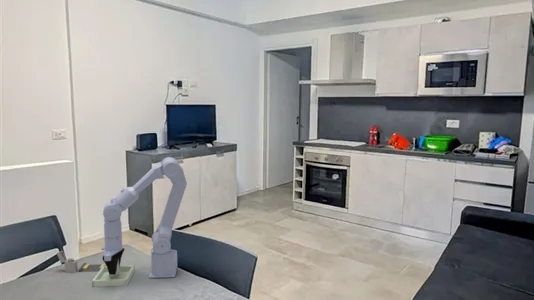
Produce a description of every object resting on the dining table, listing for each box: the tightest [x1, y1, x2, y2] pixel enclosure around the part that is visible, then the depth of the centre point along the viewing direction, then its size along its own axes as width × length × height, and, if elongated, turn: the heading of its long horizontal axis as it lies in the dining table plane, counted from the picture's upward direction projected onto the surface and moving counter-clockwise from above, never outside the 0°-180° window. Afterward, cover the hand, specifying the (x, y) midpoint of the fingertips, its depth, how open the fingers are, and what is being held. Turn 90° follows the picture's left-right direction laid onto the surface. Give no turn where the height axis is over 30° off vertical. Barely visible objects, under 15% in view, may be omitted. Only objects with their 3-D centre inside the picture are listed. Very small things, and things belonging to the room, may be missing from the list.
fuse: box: [109, 260, 119, 278], centre depth 133 cm, size 4×4×6 cm
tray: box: [91, 265, 136, 288], centre depth 134 cm, size 12×12×2 cm
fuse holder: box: [77, 262, 106, 273], centre depth 142 cm, size 10×6×1 cm, turn 96°
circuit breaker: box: [56, 250, 79, 274], centre depth 138 cm, size 7×2×8 cm, turn 84°
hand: (114, 271), depth 134 cm, fingers closed on fuse, 3 cm apart
